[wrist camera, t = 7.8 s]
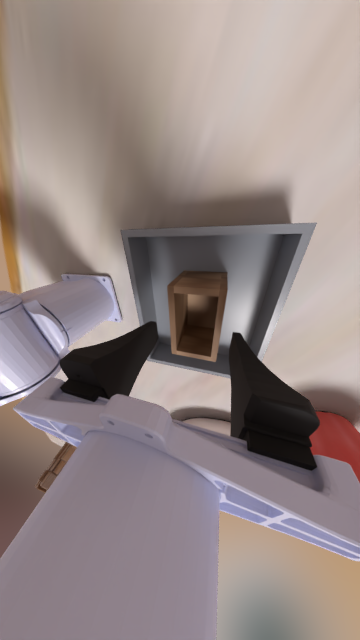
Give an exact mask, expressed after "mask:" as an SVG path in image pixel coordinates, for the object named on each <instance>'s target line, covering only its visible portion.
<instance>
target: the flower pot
mask: <svg viewBox="0 0 360 640" xmlns="http://www.w3.org/2000/svg"><path fill="white" fill-rule="evenodd" d="M315 412H316V414H317V416H318V418H319V420H320V426H319V427H318V429H317V430H316V431H315V432H314V433H313V434H312V435H310V436H309V438H310V441H311V443H312V447H310V449H311V452H312V454H313V455H322V456H326V457H329V458H333V459H336V460H340V461H343V462H346V463H348V464H350V466H351V468H352V469H353V471H354V473H355V475H356V477H357V479H358V481H359V483H360V433H359V432H358V431H357V430H356V429H355V427H354V426H353V425H352V424H351V423H350V422H349V421H348V420H347V419H346V418H344V417H342V416H340V415H337V414H334V413H330V412H326V413H324V412H321V411H315Z"/></svg>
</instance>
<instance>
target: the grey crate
mask: <svg viewBox="0 0 360 640" xmlns="http://www.w3.org/2000/svg"><path fill="white" fill-rule="evenodd" d="M316 224H317V223H295V224H267V225H240V226H213V227H186V228H159V229H131V230H121V235H122V240H123V245H124V250H125V254H126V259H127V264H128V269H129V274H130V279H131V284H132V289H133V294H134V299H135V304H136V308H137V313H138V318H139V323H140V326H142V325H144V324H146V323H147V322H149V321H155V322H156V323H157V331H158V340H157V343H156V345H155V347H154V348H153V350H152V352H151V353H150V355H149V356H148V358H147V361H151V362H156V363H161V364H166V365H170V366H175V367H180V368H184V369H189V370H194V371H198V372H203V373H208V374H212V375H217V376H222V377H227V378H231V377H230V367H229V348H230V343H231V338H232V333H233V332H237V333H241V334H242V336H243V338H244V339H245V341H246V343H247V344H248V346H249V347H250V348H251V350H252V351H253V352H254V354H255V355H256V356H257V357H258V359H259V360H260V361H261V362H262V360H263V357H264V355H265V352H266V350H267V347H268V345H269V342H270V339H271V337H272V334H273V332H274V329H275V327H276V324H277V322H278V319H279V317H280V314H281V312H282V309H283V307H284V304H285V302H286V299H287V297H288V294H289V292H290V289H291V287H292V284H293V282H294V279H295V277H296V274H297V272H298V269H299V267H300V264H301V262H302V259H303V257H304V254H305V252H306V249H307V246H308V244H309V241H310V239H311V236H312V234H313V231H314V229H315V226H316ZM184 270H185V271H208V272H227V276H228V291H227V297H226V304H225V310H224V316H223V322H222V328H221V334H220V341H219V347H218V353H217V359H216V362H213V361H208V360H203V359H197V358H192V357H187V356H182V355H177V354H172V350H171V336H170V321H169V307H168V292H167V285H169V284H170V283H171V282H172V281H173V280H174V279H175V278H176V277H178V276H179V275H180V274H181V273H182V272H183V271H184Z"/></svg>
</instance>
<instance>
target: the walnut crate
mask: <svg viewBox="0 0 360 640" xmlns="http://www.w3.org/2000/svg"><path fill="white" fill-rule="evenodd" d="M227 291H228V276H227V272H208V271H185V270H184V271H183V272H182V273H181V274H180V275H179V276H178V277H176V278H175V279H174V280H173V281H172V282H171V283H170V284H169V285H167V292H168V307H169V321H170V336H171V350H172V354H177V355H182V356H187V357H192V358H197V359H203V360H208V361H213V362H216V359H217V353H218V347H219V341H220V334H221V328H222V322H223V316H224V310H225V304H226V297H227Z"/></svg>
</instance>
